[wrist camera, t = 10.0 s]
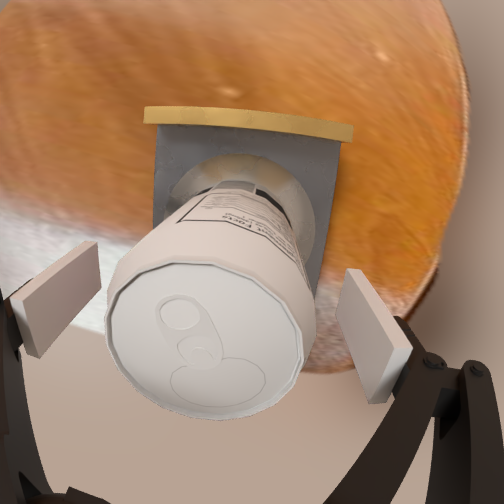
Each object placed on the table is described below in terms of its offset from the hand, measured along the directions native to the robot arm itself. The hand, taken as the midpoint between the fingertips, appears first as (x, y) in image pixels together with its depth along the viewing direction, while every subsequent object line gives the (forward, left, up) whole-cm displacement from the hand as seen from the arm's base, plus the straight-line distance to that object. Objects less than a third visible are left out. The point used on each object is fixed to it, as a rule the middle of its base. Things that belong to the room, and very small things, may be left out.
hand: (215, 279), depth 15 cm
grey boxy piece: (0, 0, -14) cm, 14 cm away
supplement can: (0, 0, -9) cm, 9 cm away
